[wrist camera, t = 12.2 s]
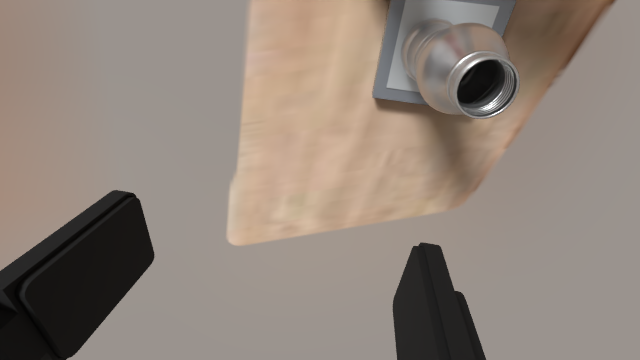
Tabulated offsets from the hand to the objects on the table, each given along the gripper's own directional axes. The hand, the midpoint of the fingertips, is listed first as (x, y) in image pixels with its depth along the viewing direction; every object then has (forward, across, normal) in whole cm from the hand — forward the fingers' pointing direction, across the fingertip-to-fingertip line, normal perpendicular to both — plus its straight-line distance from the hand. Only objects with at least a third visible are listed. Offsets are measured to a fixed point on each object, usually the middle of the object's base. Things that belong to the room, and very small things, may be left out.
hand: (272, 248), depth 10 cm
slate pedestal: (+34, -11, -4) cm, 36 cm away
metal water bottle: (+32, -10, -4) cm, 33 cm away
